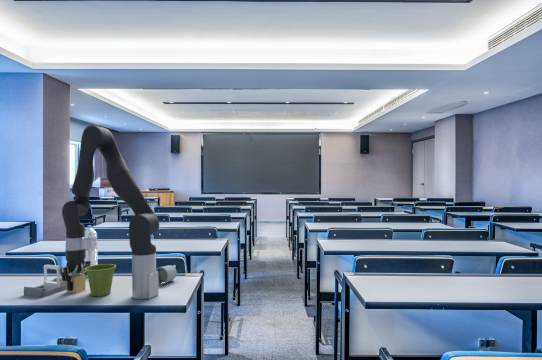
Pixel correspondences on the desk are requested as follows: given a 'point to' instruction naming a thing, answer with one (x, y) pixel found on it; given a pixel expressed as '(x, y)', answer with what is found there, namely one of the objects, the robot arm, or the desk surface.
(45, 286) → the grey arch gate
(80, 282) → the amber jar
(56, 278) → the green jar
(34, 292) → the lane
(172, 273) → the ceramic mug
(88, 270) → the plant pot
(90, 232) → the water bottle
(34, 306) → the desk surface
